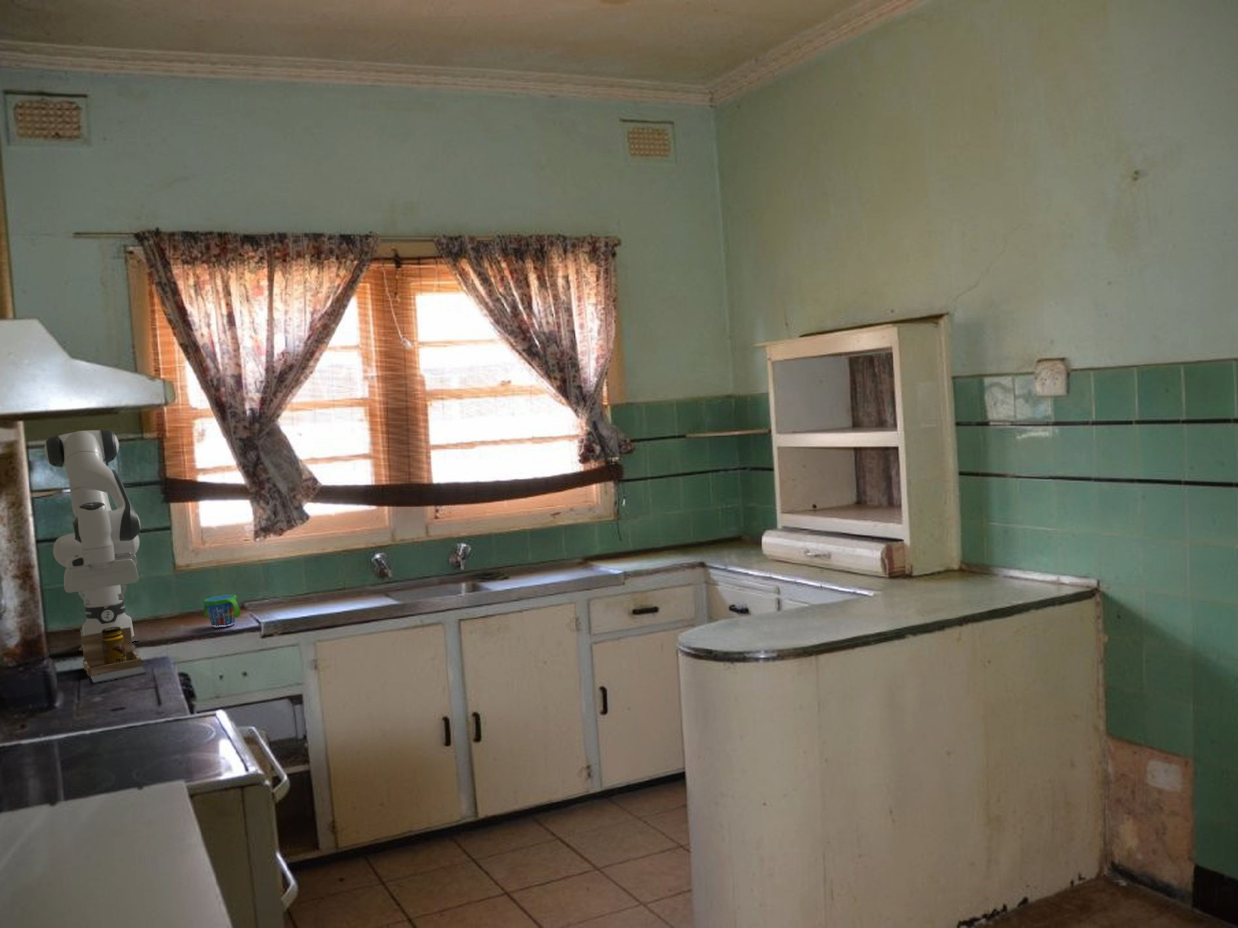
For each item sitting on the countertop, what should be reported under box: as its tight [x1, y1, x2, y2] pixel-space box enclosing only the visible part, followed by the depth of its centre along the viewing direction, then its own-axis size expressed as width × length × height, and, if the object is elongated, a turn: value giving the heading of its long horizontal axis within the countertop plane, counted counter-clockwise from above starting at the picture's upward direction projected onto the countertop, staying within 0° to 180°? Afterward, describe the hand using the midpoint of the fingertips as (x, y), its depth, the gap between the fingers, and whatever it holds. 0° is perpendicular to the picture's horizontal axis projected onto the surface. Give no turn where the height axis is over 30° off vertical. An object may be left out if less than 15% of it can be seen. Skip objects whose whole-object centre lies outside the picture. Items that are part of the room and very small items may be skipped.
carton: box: [80, 627, 143, 677], centre depth 333 cm, size 16×15×10 cm
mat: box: [89, 665, 147, 684], centre depth 321 cm, size 9×14×1 cm, turn 121°
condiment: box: [102, 627, 126, 665], centre depth 333 cm, size 7×8×12 cm
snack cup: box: [203, 594, 241, 626], centre depth 382 cm, size 16×10×10 cm
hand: (104, 602), depth 331 cm, fingers open, 8 cm apart
